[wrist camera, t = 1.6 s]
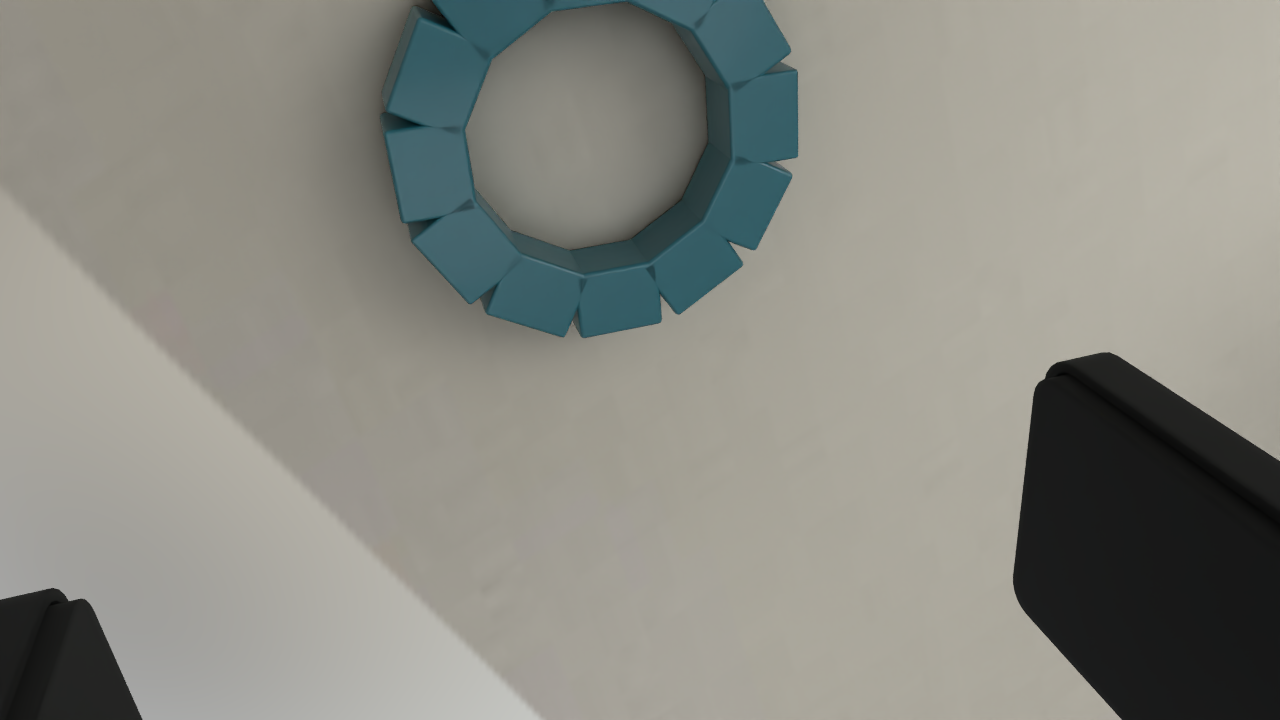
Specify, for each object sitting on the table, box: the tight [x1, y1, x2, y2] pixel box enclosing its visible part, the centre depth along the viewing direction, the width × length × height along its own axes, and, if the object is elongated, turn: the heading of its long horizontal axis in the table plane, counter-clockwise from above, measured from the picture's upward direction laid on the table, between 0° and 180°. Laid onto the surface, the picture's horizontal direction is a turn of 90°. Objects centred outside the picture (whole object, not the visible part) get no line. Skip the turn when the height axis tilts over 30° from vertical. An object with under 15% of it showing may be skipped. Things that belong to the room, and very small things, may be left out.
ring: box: [380, 0, 798, 338], centre depth 22 cm, size 9×9×2 cm
